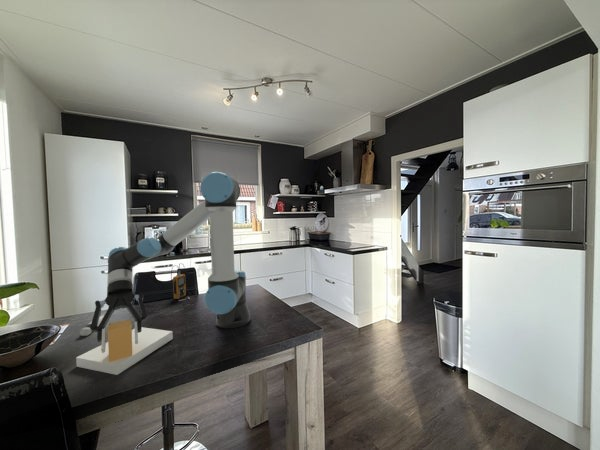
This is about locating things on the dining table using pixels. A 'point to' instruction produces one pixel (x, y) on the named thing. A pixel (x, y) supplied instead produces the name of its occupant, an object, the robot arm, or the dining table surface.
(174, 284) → the multimeter
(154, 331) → the white base board
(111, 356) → the orange upright block
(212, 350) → the dining table surface
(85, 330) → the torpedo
